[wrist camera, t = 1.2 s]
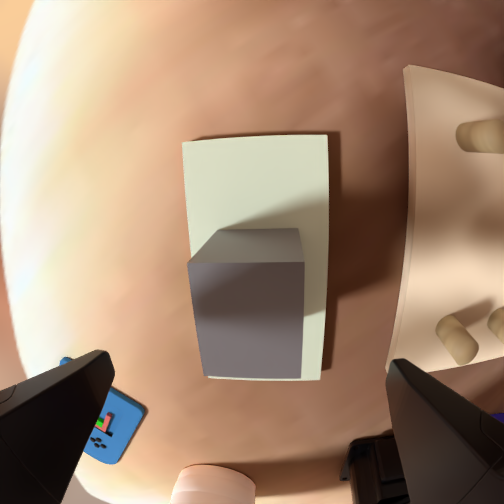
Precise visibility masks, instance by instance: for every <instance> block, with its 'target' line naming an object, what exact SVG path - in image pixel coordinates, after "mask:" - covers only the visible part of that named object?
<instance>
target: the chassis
mask: <svg viewBox="0 0 504 504" xmlns="http://www.w3.org/2000/svg"><path fill="white" fill-rule="evenodd" d="M403 76H404V85H405V95H406V107H407V121H408V144H409V194H408V216H407V232H406V244H405V254H404V264H403V272H402V280H401V287H400V294H399V301H398V307H397V313H396V319H395V324H394V329H393V335H392V340H391V344H390V349H389V354H388V358H387V362H386V367H385V369H386V371H387V374H388V370H389V366H390V362H391V360H393V359H397V358H405V359H407V360H408V361H410V362H411V363H413V364H414V365H416V366H417V367H419V368H420V369H422V370H423V371H425V372H431V371H437V370H443V369H448V368H454V367H459V366H464V365H468V364H473V363H478V362H482V361H486V360H490V359H494V358H498V357H502V356H504V89H503V88H500V87H497V86H494V85H491V84H488V83H485V82H481V81H478V80H475V79H471V78H468V77H464V76H460V75H456V74H452V73H448V72H444V71H439V70H435V69H430V68H425V67H420V66H414V65H408V66H407V67H405V68H404V69H403Z"/></svg>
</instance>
